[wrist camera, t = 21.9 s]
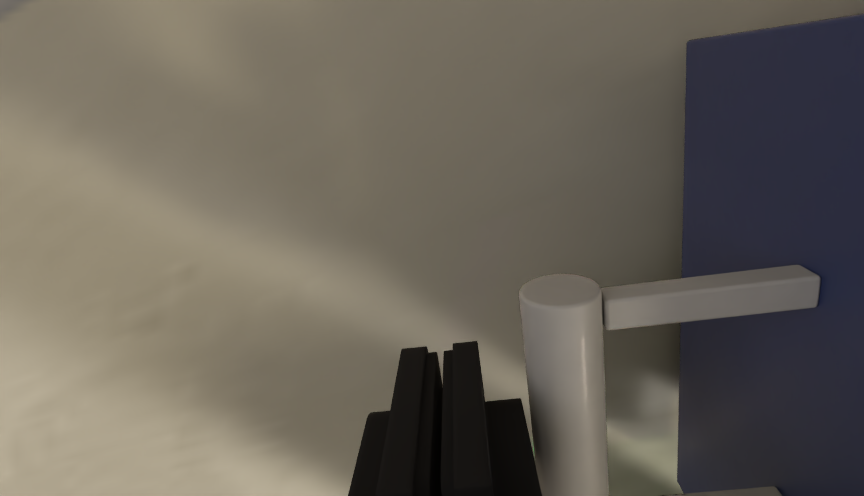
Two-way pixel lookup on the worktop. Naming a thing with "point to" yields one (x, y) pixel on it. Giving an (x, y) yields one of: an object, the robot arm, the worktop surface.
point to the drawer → (736, 283)
